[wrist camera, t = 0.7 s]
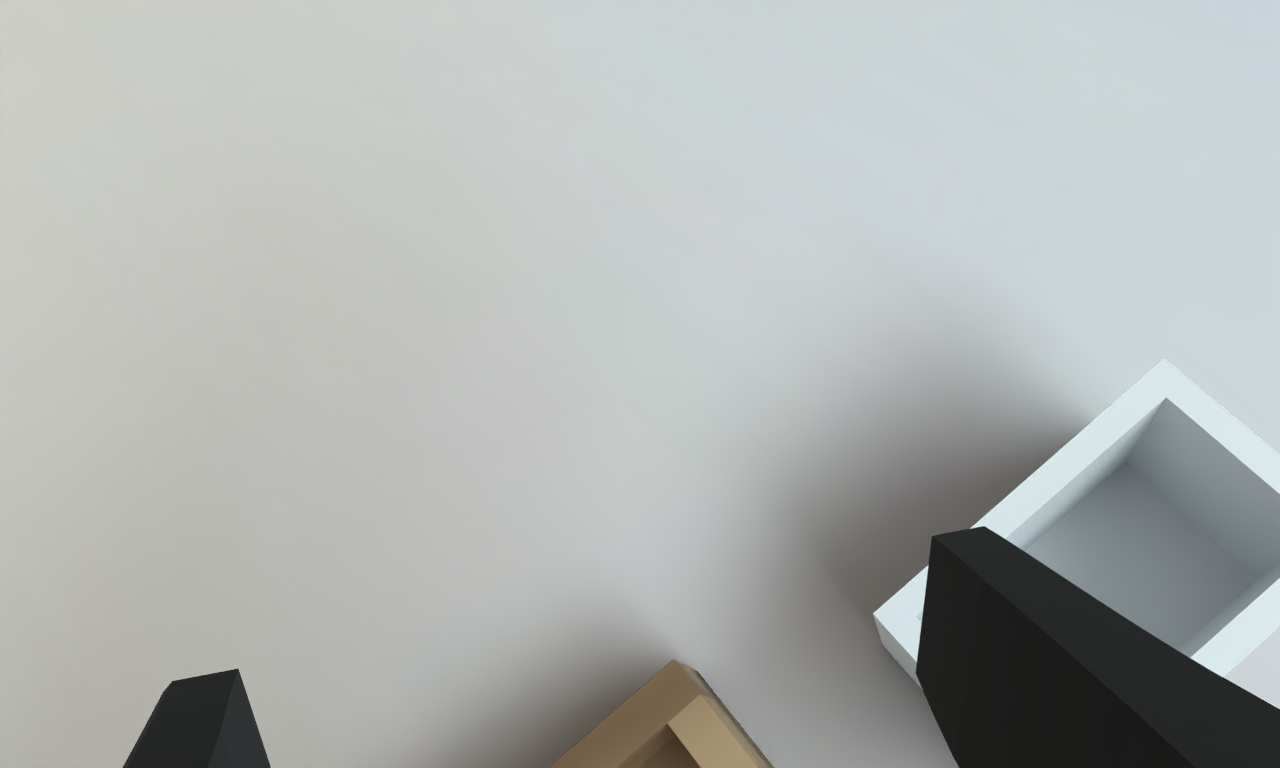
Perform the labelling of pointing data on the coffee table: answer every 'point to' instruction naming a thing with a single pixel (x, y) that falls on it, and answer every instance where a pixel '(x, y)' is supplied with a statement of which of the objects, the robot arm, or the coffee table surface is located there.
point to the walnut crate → (668, 730)
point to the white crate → (1147, 525)
